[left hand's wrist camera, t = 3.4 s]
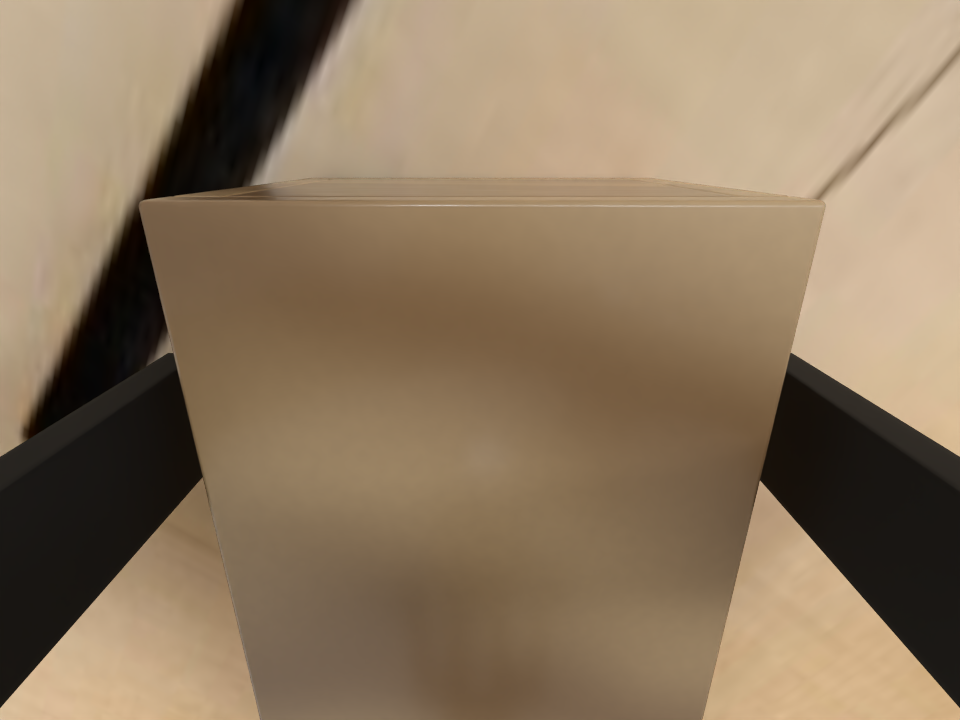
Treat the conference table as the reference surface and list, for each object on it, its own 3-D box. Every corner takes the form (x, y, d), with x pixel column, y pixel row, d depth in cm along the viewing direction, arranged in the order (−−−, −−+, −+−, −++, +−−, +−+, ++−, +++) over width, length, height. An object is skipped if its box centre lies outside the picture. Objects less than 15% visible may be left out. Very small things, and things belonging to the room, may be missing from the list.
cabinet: (591, 693, 22) (646, 957, 15) (369, 693, 22) (315, 957, 15) (652, 178, 15) (830, 201, 7) (309, 178, 15) (134, 200, 7)
